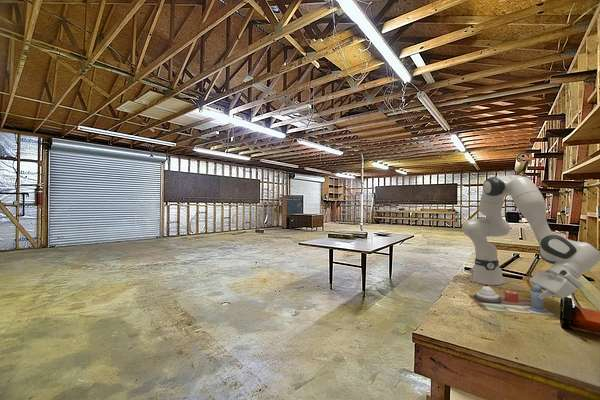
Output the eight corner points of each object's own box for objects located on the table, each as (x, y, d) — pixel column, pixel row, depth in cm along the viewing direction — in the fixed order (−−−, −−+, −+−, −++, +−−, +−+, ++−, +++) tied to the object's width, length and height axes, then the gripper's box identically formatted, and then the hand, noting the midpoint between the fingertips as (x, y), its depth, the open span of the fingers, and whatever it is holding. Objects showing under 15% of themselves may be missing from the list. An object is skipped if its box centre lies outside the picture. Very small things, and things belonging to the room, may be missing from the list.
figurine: (539, 304, 127) (538, 278, 127) (523, 301, 131) (521, 276, 131) (541, 299, 132) (540, 275, 133) (525, 297, 137) (524, 273, 137)
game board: (467, 297, 138) (467, 292, 138) (527, 301, 130) (527, 296, 131) (483, 313, 116) (483, 308, 116) (556, 319, 109) (556, 313, 109)
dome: (473, 293, 135) (473, 283, 136) (494, 294, 133) (493, 284, 133) (480, 299, 127) (479, 288, 127) (502, 300, 124) (501, 289, 125)
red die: (504, 299, 130) (504, 290, 130) (514, 299, 129) (514, 291, 129) (508, 302, 126) (508, 293, 126) (518, 302, 125) (518, 293, 125)
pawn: (527, 307, 118) (526, 282, 119) (541, 308, 117) (540, 283, 117) (533, 311, 113) (532, 286, 114) (548, 312, 112) (547, 286, 112)
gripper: (540, 264, 124) (516, 284, 126) (571, 274, 104) (542, 298, 107) (552, 274, 123) (528, 294, 125) (586, 287, 103) (557, 310, 105)
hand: (535, 296), depth 116 cm, fingers closed on pawn, 4 cm apart
